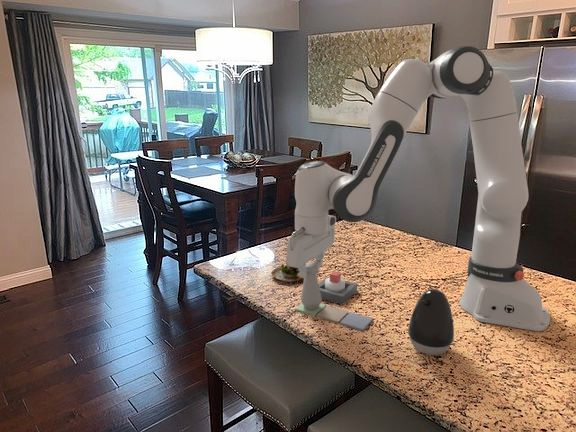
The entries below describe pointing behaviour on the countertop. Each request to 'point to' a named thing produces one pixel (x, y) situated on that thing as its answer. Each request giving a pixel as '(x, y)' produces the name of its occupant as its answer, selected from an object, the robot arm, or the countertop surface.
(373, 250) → the countertop surface
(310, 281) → the salt shaker
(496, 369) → the countertop surface
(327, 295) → the button housing
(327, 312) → the track
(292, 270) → the bowl of food
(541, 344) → the countertop surface
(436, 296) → the dark grey egg device
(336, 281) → the dome
